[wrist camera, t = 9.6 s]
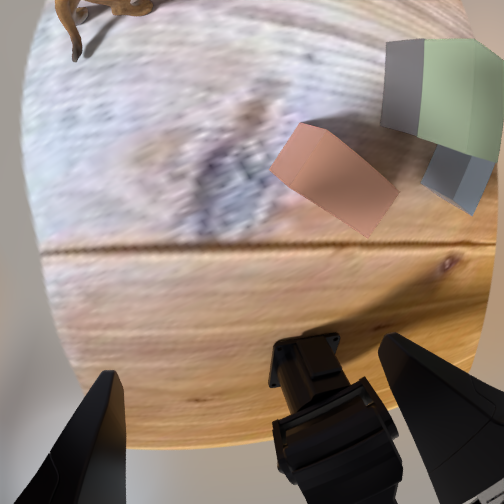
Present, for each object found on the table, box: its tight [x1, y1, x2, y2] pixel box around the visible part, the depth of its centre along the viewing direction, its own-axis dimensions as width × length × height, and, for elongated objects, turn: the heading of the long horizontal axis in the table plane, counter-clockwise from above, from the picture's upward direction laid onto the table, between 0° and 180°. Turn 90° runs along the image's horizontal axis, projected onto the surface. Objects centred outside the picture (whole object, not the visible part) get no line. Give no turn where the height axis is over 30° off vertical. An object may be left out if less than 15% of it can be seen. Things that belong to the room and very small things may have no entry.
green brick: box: [417, 39, 504, 163], centre depth 12 cm, size 6×4×4 cm, turn 177°
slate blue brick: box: [421, 144, 500, 216], centre depth 19 cm, size 6×4×4 cm, turn 158°
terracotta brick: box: [269, 123, 400, 238], centre depth 18 cm, size 6×4×4 cm, turn 58°
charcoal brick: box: [380, 39, 426, 136], centre depth 15 cm, size 6×4×4 cm, turn 177°
